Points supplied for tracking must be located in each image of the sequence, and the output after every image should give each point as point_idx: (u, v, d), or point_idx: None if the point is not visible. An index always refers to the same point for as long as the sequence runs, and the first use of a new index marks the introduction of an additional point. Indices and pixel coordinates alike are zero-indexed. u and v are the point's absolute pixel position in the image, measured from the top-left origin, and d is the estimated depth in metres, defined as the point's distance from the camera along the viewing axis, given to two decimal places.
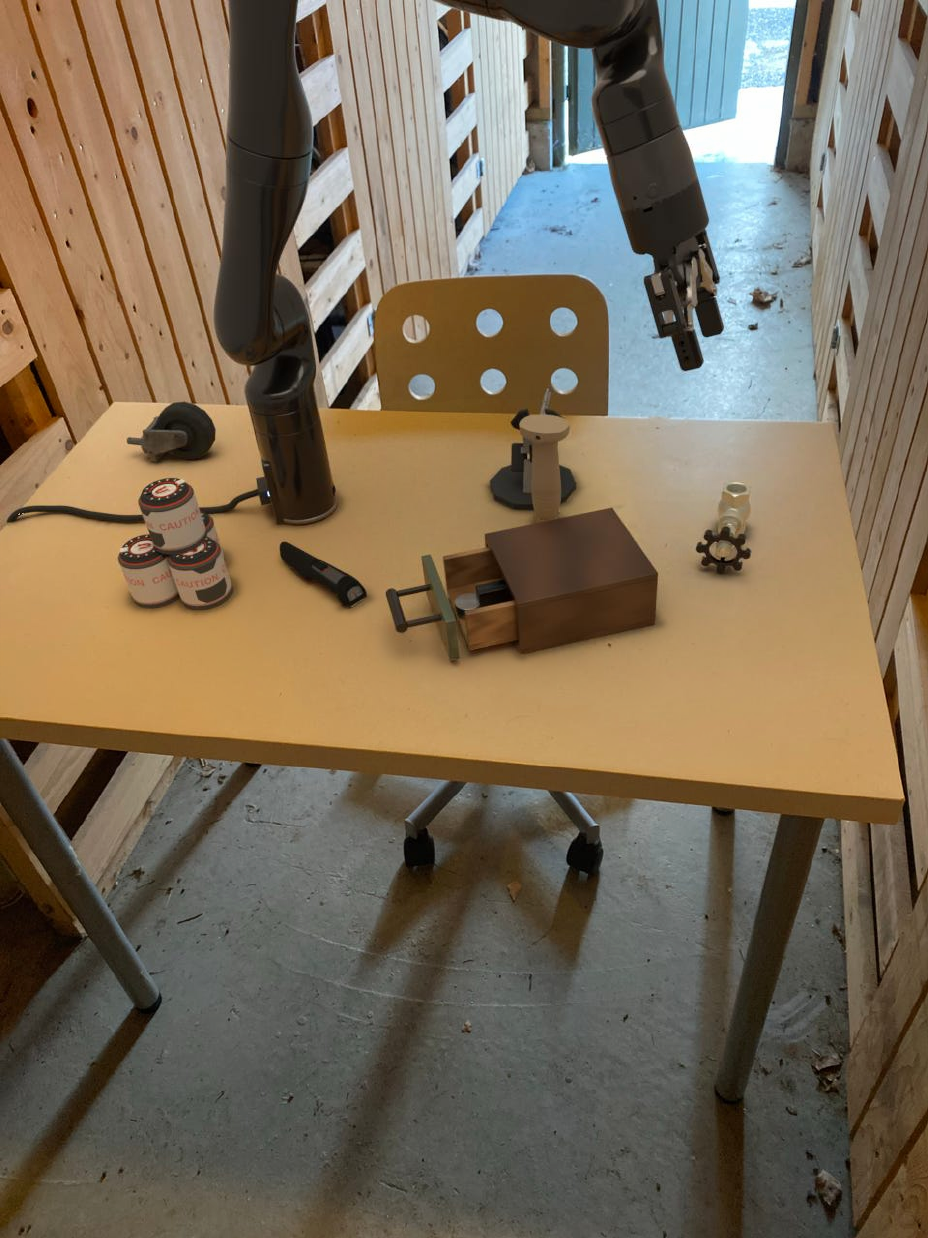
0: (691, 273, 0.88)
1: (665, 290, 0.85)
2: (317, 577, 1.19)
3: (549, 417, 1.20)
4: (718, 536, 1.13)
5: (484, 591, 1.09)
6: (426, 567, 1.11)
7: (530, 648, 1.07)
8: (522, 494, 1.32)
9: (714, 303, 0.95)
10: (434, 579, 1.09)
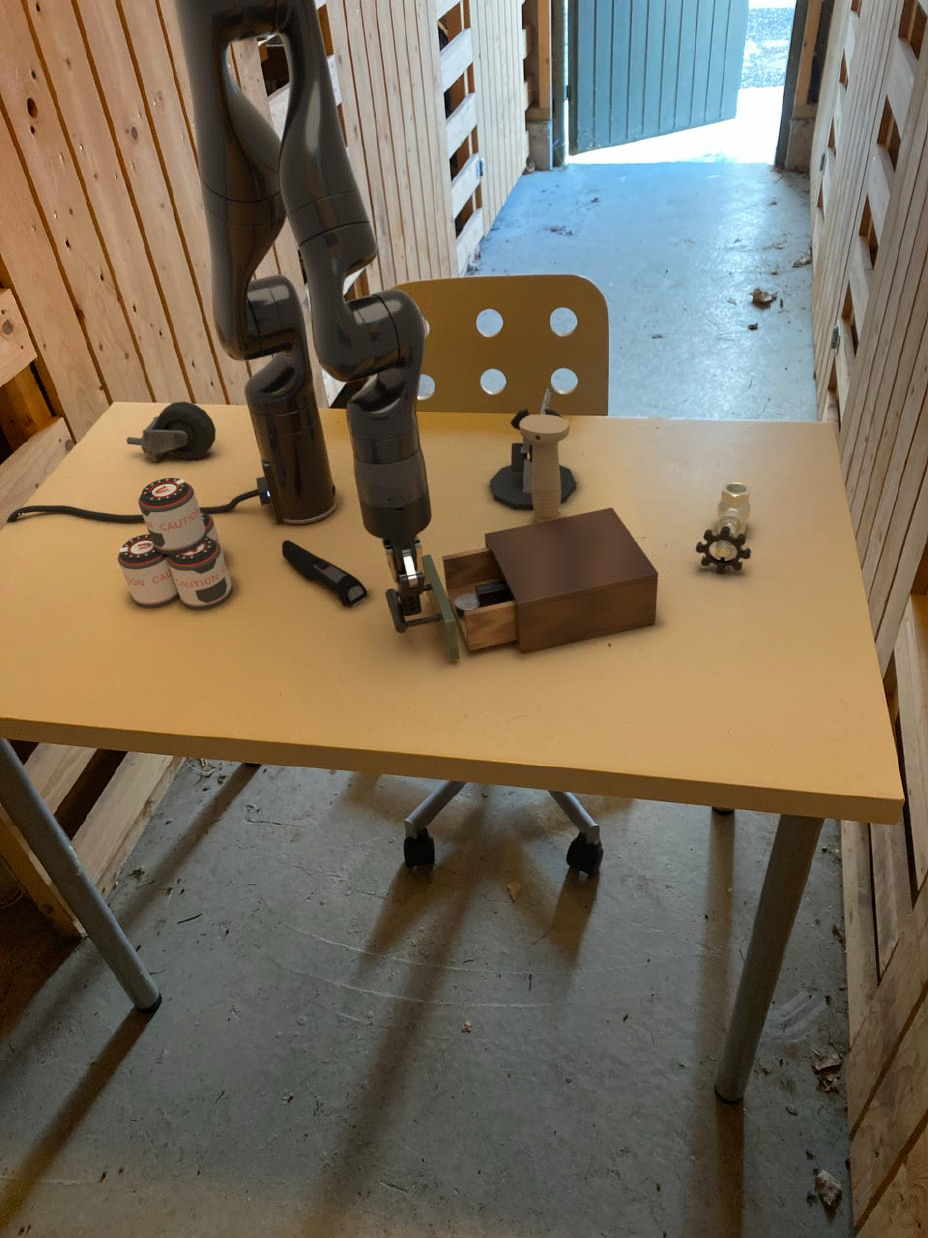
0: (420, 554, 1.02)
1: (418, 586, 1.00)
2: (318, 577, 1.19)
3: (549, 417, 1.20)
4: (718, 536, 1.13)
5: (484, 591, 1.09)
6: (426, 567, 1.11)
7: (530, 648, 1.07)
8: (522, 494, 1.32)
9: None
10: (433, 579, 1.09)
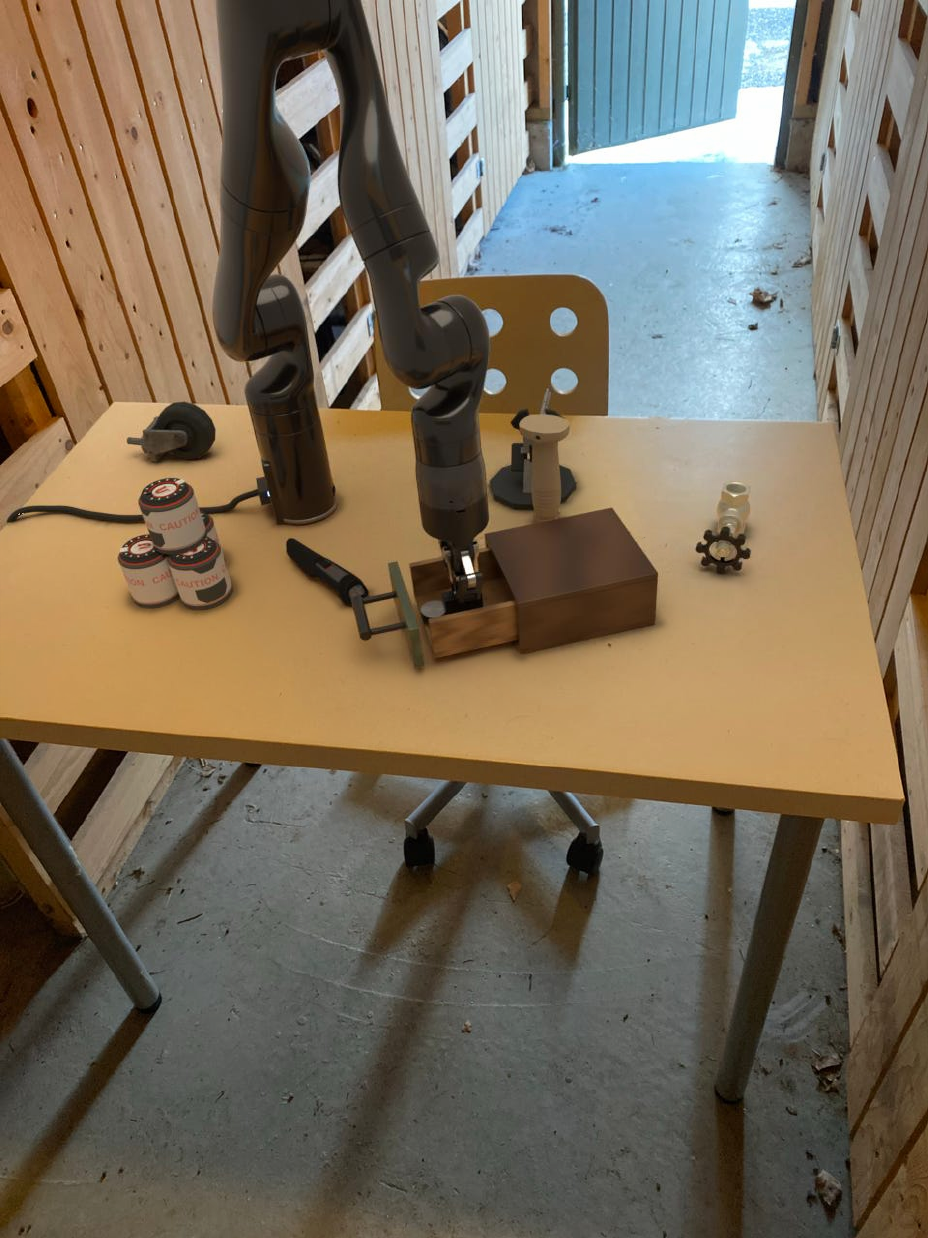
0: (477, 556, 1.04)
1: (476, 586, 1.01)
2: (320, 575, 1.19)
3: (549, 417, 1.20)
4: (718, 536, 1.13)
5: (450, 598, 1.08)
6: (392, 574, 1.10)
7: (530, 648, 1.07)
8: (522, 494, 1.32)
9: None
10: (399, 586, 1.08)
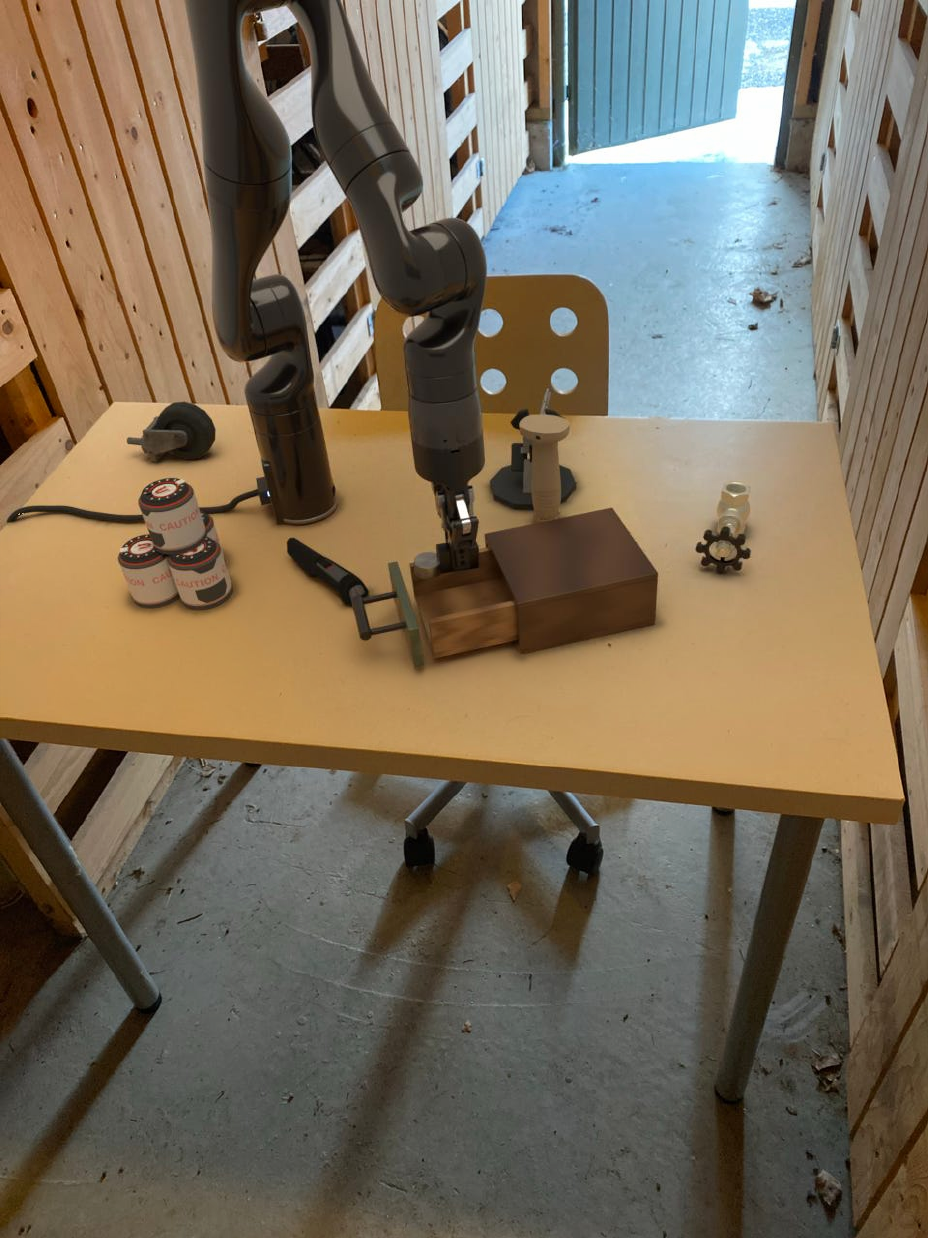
0: (472, 501, 0.99)
1: (471, 532, 0.97)
2: (320, 575, 1.19)
3: (549, 417, 1.20)
4: (718, 536, 1.13)
5: (445, 550, 1.04)
6: (392, 574, 1.10)
7: (530, 648, 1.07)
8: (522, 494, 1.32)
9: None
10: (399, 586, 1.08)
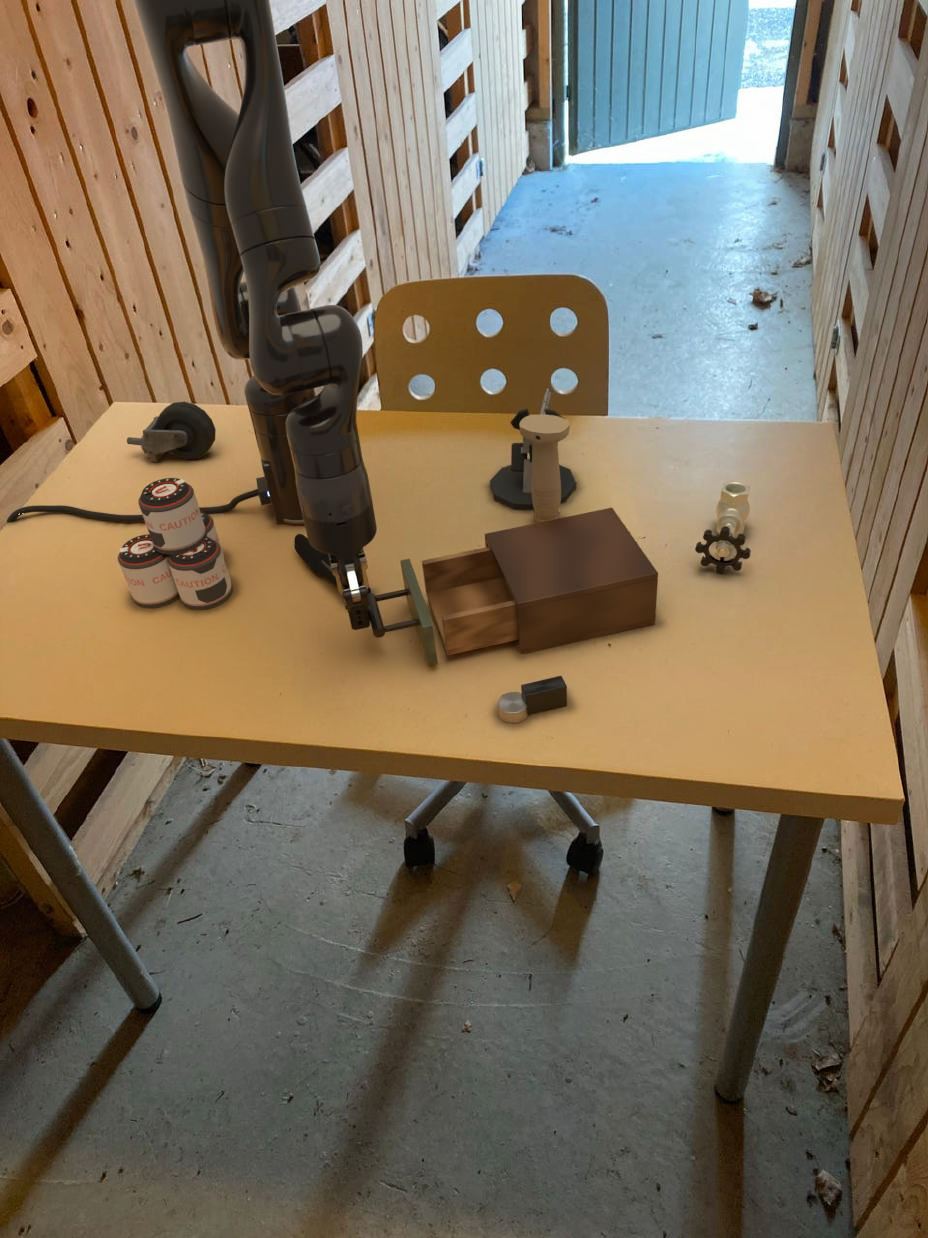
0: (366, 568, 1.01)
1: (362, 600, 0.99)
2: (324, 572, 1.19)
3: (549, 417, 1.20)
4: (718, 536, 1.13)
5: (531, 692, 0.98)
6: (405, 572, 1.10)
7: (530, 648, 1.07)
8: (522, 494, 1.32)
9: None
10: (412, 583, 1.08)
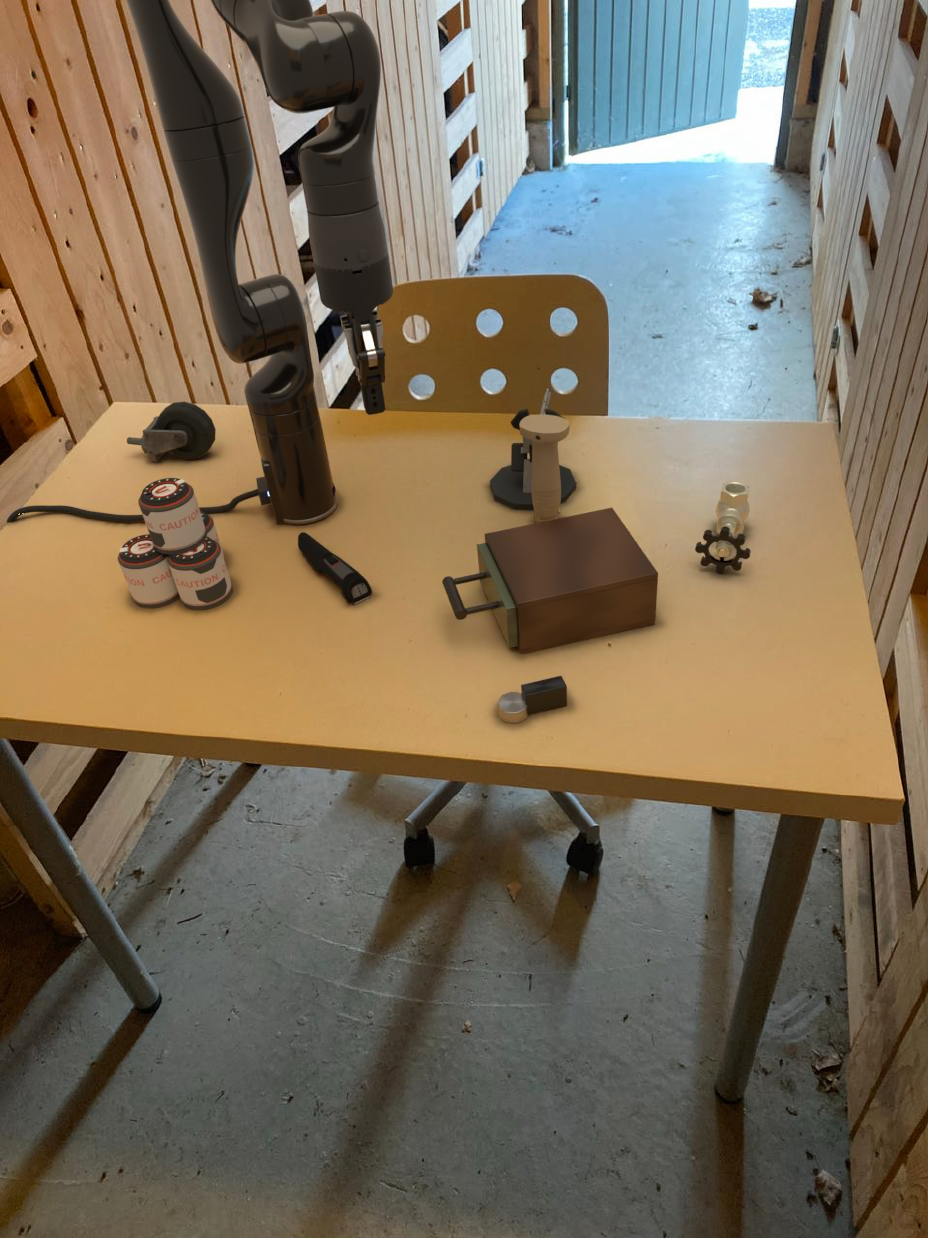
0: (381, 336, 0.96)
1: (378, 365, 0.94)
2: (326, 571, 1.20)
3: (549, 417, 1.20)
4: (717, 536, 1.13)
5: (531, 692, 0.98)
6: (482, 555, 1.11)
7: (530, 648, 1.07)
8: (522, 494, 1.32)
9: None
10: (491, 567, 1.09)
